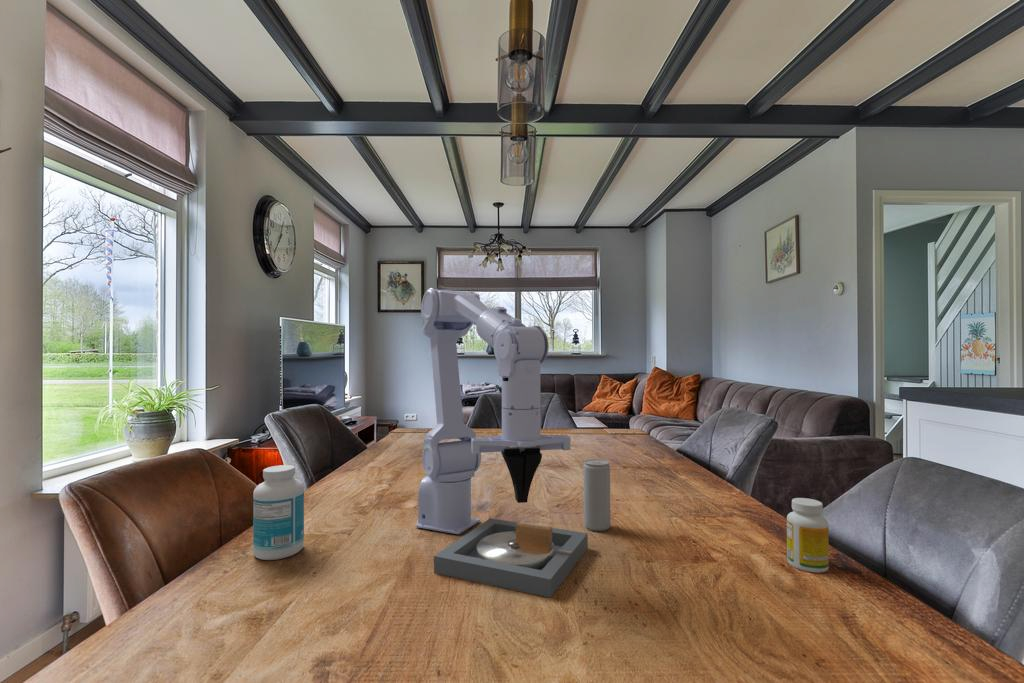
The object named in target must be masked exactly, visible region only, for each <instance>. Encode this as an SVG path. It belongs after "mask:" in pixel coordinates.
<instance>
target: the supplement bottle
mask: <svg viewBox="0 0 1024 683" xmlns="http://www.w3.org/2000/svg"><path fill="white" fill-rule="evenodd" d="M791 508H792V509H791V510H792V511H791V512H789V513H788V514H787V516H786V558H787V562H788V564H789V565H791V566H792V567H793V568H794V569H798V570H799V571H800V570H801V571H804V572H809V573H816V574H817V573H819V574H820V573H821V572H822V573H825V572H827V571H829V568H830V561H829V560H830V558H829V557H830V552H829V551H830V550H829V548H830V547H829V546H830V545H829V536H830V535H829V522H828V520H827V518H825V517H824V516H823V515H822V514H823V512H824V505H823V503H822V502H821V501H819V500H817V499H812V498H806V497H795V498H792V499H791Z"/></svg>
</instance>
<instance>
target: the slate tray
mask: <svg viewBox="0 0 1024 683" xmlns="http://www.w3.org/2000/svg"><path fill="white" fill-rule="evenodd" d="M518 523H519V522H516V521H512V520H511V521H510V520H502V519H497V518H490V517H489V518H488V519H487V520H485V521H484V522H482V523H481V524H479V525H478V526H477V527H475V528H473V529H472V530H470V531H469V532H467V533H466V534H464V535H463V536H461V537H460V538H458V539H457V540H456V541H455V542H452V543H451V544H450V545H448V546H446V547H445V548H443V549H442V550H441V551H439V552H438V553H436V554H435V555H434V556H433V573H435V574H438V575H442V576H447V577H453V578H457V579H462V580H466V581H470V582H475V583H481V584H485V585H489V586H493V587H498V588H503V589H507V590H508V589H509V590H512V591H515V592H516V591H517V592H521V593H526V594H530V595H535V596H540V597H545V598H549V599H550V598H552V597H553V595H554V594H555V593H556V592H557V590H558V589H559V587H560V586H561V585H562V584H563V582H564V580H565V579H566V578H567V577H568V575H569V574H570V573H571V571H572V570H573V568H574V567H575V566H576V565H577V563H578V561H579V560H580V559H581V558H582V556H583V555H584V554H585V552H586V551H587V550H588V548H589V547H588V545H589V542H588V539H589V538H588V532H582V531H577V530H575V531H574V530H568V529H562V528H557V527H552V542H553V544H554V557H553V558H552V559H551V560H550V561H549V562H548V564H547V565H546V566H544V567H541V568H538V569H532V568H527V567H522V566H517V565H511V564H506V563H501V562H496V561H491V560H486V559H480V558H477V543H478V542H479V541H480V540H481V539H482V538H484V537H486V536H489V535H492V534H495V533H500V532H509V531H516V524H518ZM533 524H536V525H540V524H539V523H533Z"/></svg>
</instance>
